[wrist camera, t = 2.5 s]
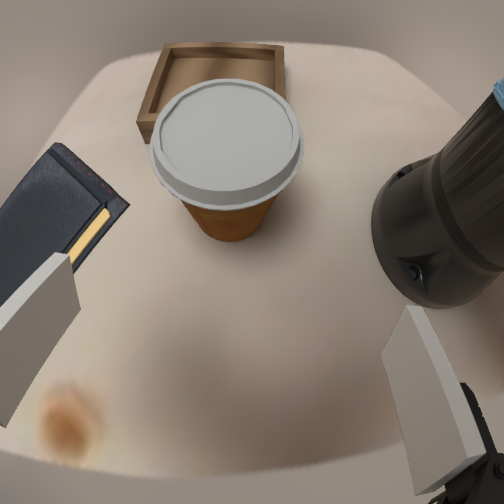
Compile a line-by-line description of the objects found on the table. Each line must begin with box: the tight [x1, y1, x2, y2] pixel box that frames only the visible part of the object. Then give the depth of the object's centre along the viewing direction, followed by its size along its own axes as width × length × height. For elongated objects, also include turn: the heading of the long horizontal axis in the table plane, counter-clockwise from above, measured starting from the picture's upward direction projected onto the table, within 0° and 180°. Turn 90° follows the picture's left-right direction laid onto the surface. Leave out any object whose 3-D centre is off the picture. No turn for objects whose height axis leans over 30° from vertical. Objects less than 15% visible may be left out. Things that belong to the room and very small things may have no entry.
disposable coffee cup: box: [149, 79, 304, 242], centre depth 23 cm, size 10×10×12 cm
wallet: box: [0, 143, 130, 307], centre depth 27 cm, size 20×2×15 cm
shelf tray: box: [136, 42, 285, 144], centre depth 31 cm, size 14×13×4 cm
